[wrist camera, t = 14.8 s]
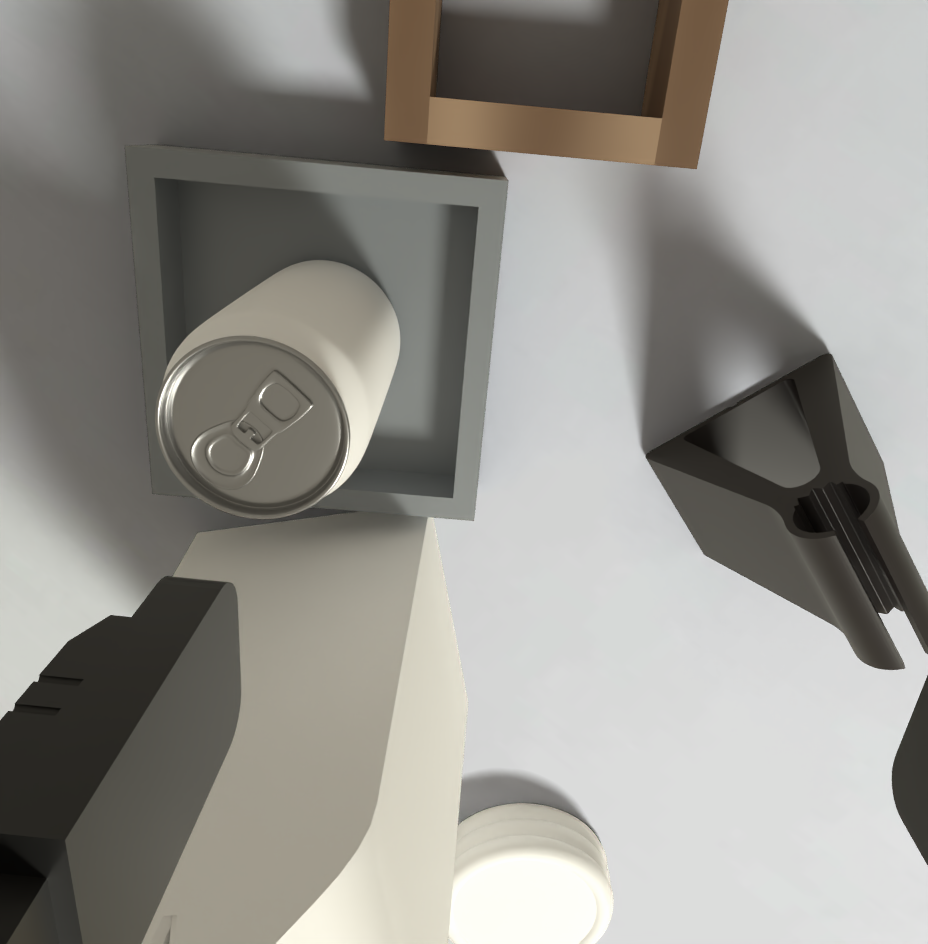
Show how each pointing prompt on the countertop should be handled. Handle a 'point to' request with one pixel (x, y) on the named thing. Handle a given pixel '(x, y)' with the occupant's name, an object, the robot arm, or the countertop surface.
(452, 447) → the tray
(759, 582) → the phone stand
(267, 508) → the can
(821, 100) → the countertop surface
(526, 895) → the white round tub
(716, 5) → the socket block
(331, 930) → the milk
